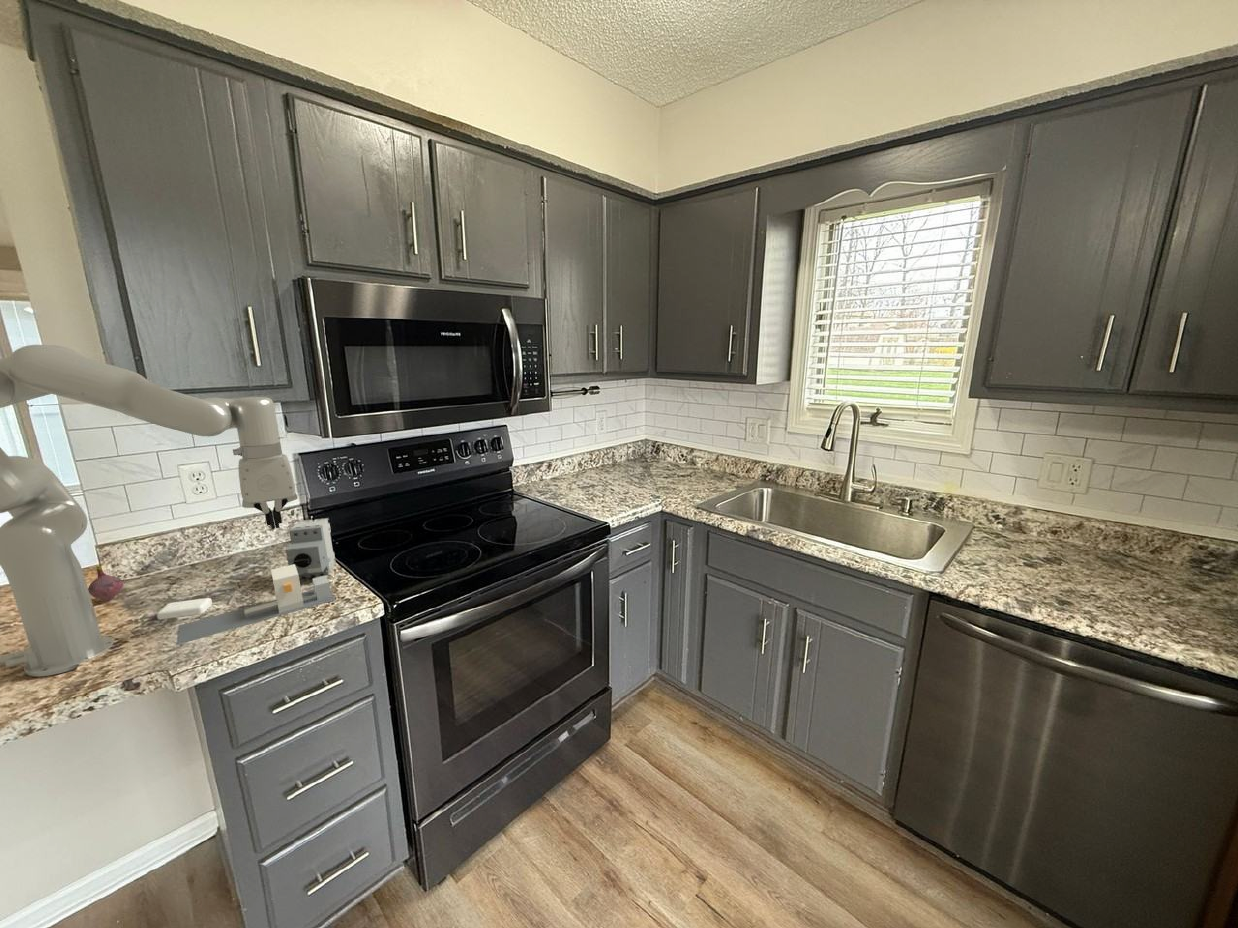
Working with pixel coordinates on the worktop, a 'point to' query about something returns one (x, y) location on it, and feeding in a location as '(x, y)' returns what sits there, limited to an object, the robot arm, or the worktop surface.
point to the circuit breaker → (311, 548)
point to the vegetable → (105, 586)
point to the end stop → (322, 587)
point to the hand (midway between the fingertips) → (275, 527)
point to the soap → (184, 608)
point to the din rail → (274, 605)
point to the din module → (287, 588)
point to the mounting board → (233, 621)
